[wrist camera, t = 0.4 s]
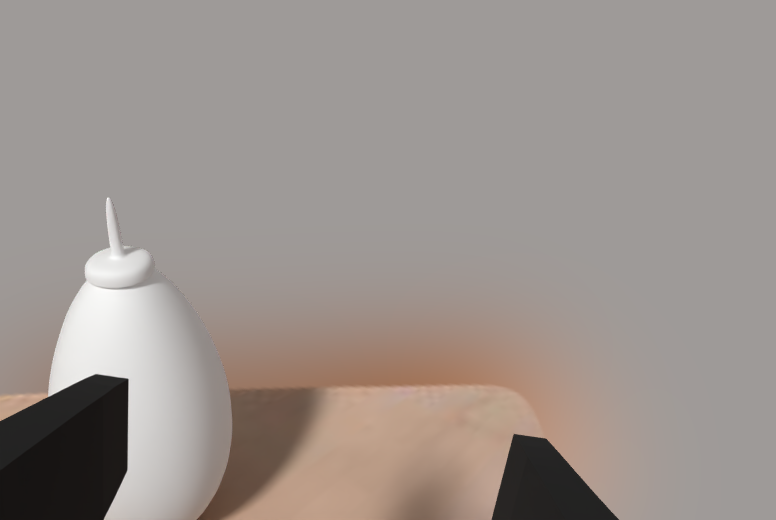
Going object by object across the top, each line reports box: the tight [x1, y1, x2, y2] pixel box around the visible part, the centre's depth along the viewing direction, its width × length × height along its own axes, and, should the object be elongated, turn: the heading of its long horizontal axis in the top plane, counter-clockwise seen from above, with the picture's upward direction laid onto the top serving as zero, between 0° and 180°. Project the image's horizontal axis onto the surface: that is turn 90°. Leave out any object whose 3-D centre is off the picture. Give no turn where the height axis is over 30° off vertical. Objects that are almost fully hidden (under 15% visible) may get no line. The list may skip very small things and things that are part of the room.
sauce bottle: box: [48, 197, 232, 520], centre depth 28 cm, size 8×8×18 cm
